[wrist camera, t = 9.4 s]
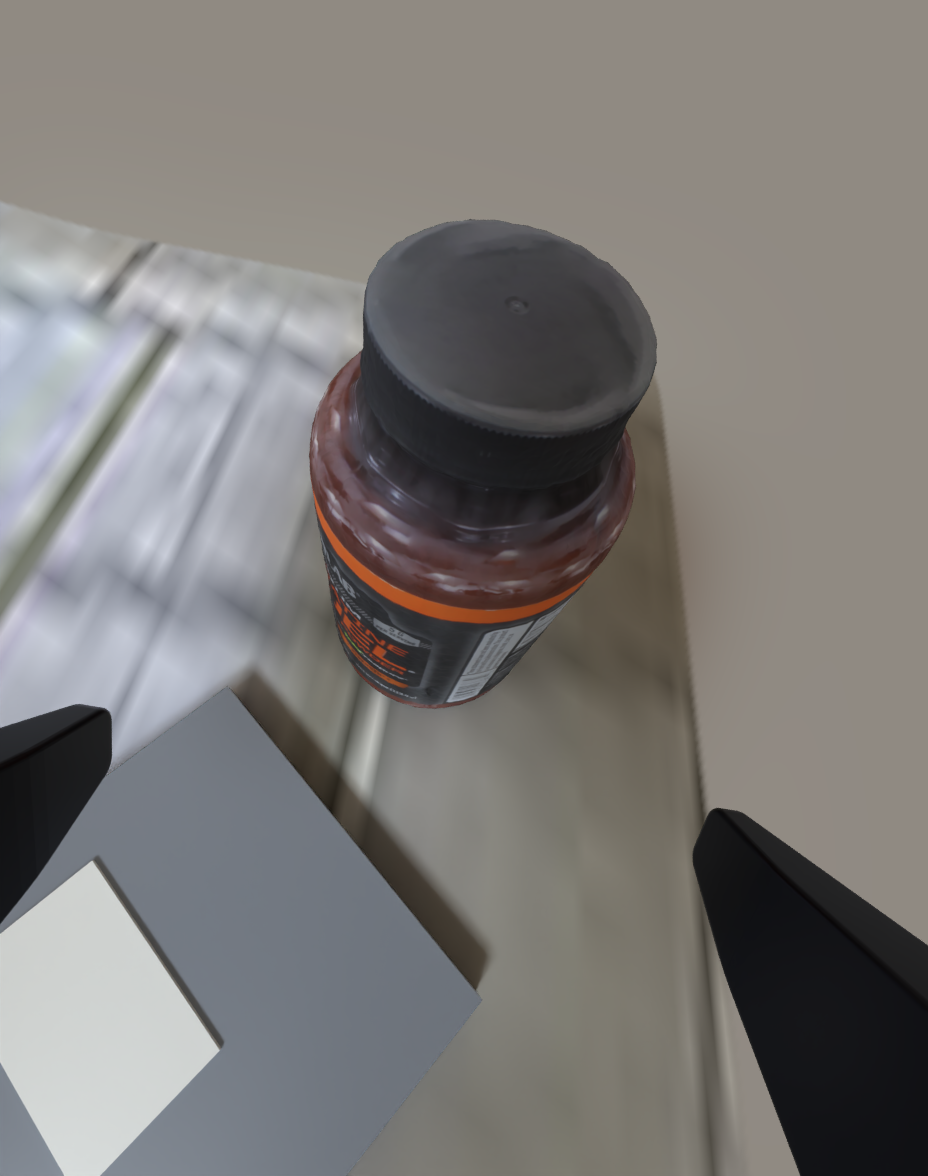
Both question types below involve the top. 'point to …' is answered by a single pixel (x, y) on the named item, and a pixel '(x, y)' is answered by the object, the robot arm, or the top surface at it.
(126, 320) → the top surface
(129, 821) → the label panel
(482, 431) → the supplement bottle
